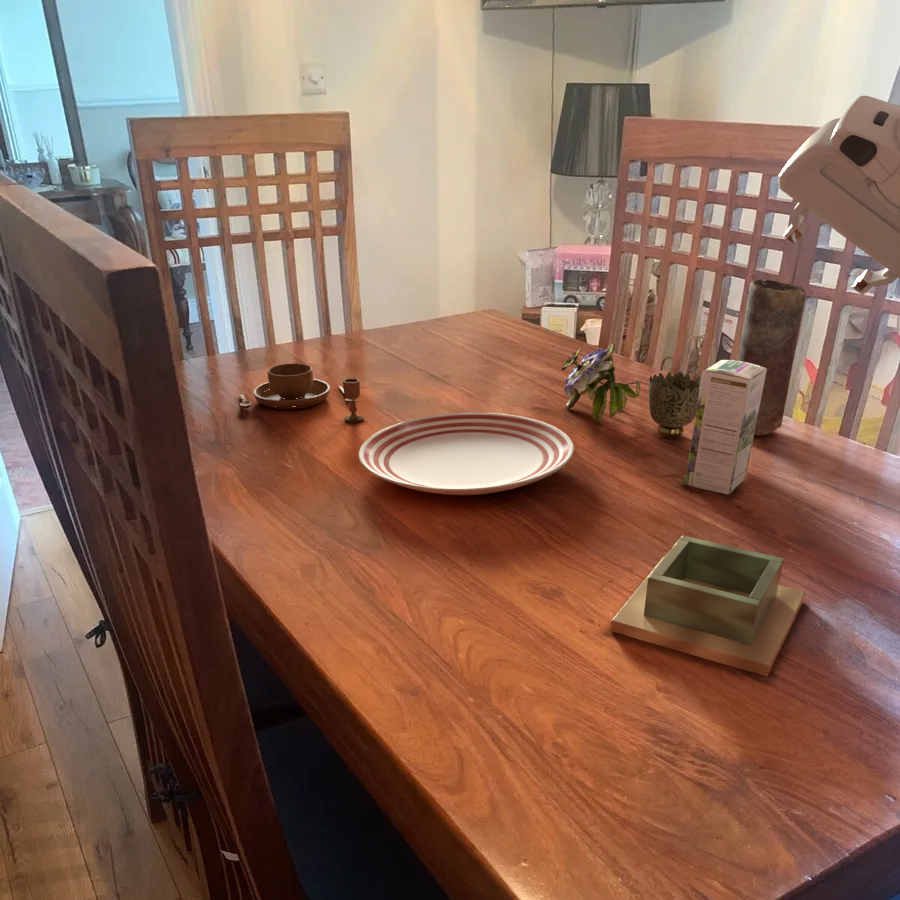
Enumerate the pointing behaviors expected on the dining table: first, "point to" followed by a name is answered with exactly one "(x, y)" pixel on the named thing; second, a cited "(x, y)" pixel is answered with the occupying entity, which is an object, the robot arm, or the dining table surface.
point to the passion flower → (591, 375)
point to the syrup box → (725, 425)
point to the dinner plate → (466, 453)
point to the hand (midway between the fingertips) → (824, 262)
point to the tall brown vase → (772, 343)
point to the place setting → (300, 390)
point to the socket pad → (714, 605)
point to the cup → (673, 402)
